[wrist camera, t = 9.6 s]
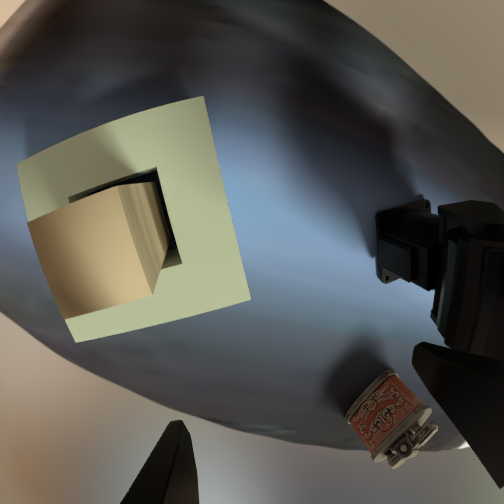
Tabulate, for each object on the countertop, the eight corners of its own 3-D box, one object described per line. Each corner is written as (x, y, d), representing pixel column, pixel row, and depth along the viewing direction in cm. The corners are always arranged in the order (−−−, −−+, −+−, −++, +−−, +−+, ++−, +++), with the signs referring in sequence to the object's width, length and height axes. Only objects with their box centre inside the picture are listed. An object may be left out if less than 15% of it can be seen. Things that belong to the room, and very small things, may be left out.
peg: (155, 181, 18) (117, 185, 8) (171, 237, 19) (152, 295, 10) (102, 199, 17) (27, 222, 8) (119, 253, 19) (64, 319, 9)
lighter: (356, 421, 29) (394, 477, 19) (339, 418, 28) (378, 479, 18) (399, 373, 28) (449, 423, 19) (384, 366, 27) (438, 422, 17)
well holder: (201, 111, 17) (203, 95, 14) (240, 277, 21) (250, 299, 17) (44, 164, 16) (16, 164, 12) (92, 315, 19) (76, 342, 15)
